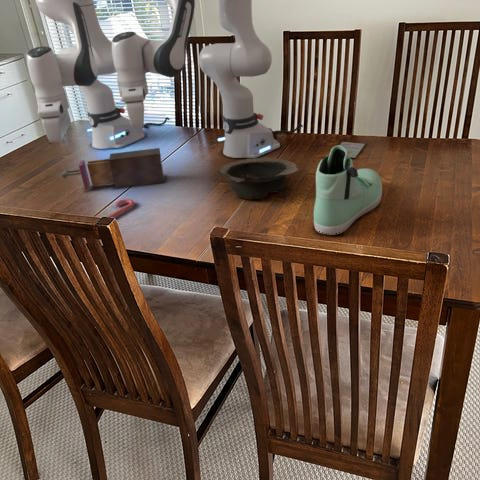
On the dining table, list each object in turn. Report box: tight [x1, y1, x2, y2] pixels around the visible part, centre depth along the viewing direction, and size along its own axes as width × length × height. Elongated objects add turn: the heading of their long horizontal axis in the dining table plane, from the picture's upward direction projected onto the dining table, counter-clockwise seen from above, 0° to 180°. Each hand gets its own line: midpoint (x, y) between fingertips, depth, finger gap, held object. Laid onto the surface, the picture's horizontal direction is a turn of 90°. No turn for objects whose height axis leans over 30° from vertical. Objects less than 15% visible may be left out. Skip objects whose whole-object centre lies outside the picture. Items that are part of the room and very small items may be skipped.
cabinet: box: [108, 147, 165, 189], centre depth 163 cm, size 17×6×10 cm, turn 99°
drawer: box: [61, 158, 114, 190], centre depth 162 cm, size 22×4×9 cm, turn 99°
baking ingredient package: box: [338, 141, 366, 158], centre depth 177 cm, size 9×1×15 cm
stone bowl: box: [217, 157, 299, 201], centre depth 152 cm, size 25×25×9 cm
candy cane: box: [106, 198, 135, 218], centre depth 146 cm, size 6×15×2 cm, turn 145°
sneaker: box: [313, 145, 383, 236], centre depth 133 cm, size 14×35×20 cm, turn 152°
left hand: (64, 146), depth 155 cm, fingers closed
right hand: (141, 132), depth 157 cm, fingers open, 8 cm apart
